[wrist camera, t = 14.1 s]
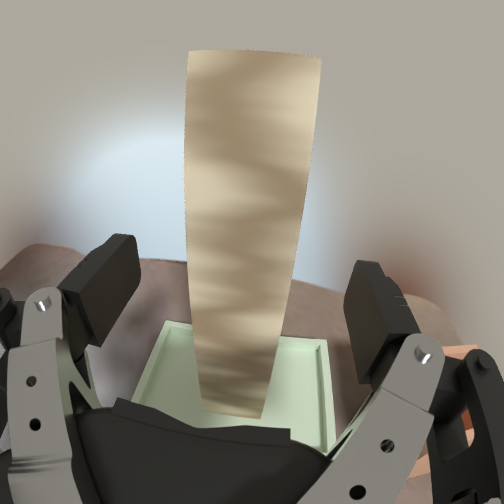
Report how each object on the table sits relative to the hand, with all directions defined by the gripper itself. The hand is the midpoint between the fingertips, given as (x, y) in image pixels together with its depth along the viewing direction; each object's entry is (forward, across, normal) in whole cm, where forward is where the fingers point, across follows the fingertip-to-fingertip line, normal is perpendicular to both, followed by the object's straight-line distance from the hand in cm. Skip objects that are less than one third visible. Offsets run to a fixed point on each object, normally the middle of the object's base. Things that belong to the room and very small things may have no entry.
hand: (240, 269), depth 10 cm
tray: (+3, 0, +14) cm, 14 cm away
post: (+3, 0, +13) cm, 13 cm away
